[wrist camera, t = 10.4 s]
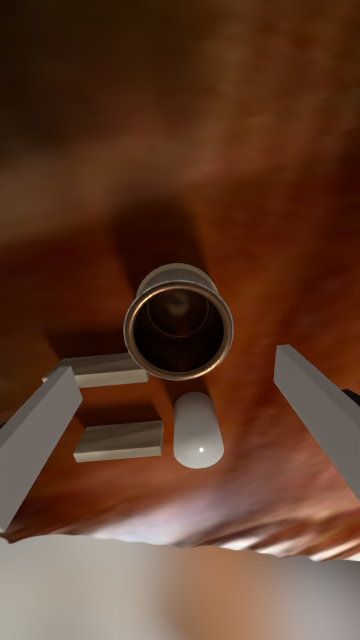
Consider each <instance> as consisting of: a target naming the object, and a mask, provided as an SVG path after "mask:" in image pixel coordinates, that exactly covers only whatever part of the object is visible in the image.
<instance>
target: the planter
mask: <svg viewBox="0 0 360 640" xmlns="http://www.w3.org/2000/svg"><path fill="white" fill-rule="evenodd" d="M123 333H124V340H125V344H126V347H127V349H128V351H129V353H130V355H131V356H132V358H133V359H134V361H135V362H136V363H137V364H138V365H139V366H140V367H142V368H143V369H144V370H146V371H147V372H149V373H151V374H152V375H155V376H157V377H160V378H163V379H168V380H188V379H193V378H196V377H199V376H202V375H204V374H206V373H208V372H209V371H211V370H212V369H214V368H215V367H216V366H217V365H218V364H219V363H220V362H221V361H222V360H223V359H224V358H225V356H226V355H227V353H228V351H229V349H230V347H231V344H232V340H233V334H234V325H233V319H232V316H231V313H230V310H229V308H228V306H227V305H226V303H225V302H224V300H223V299H222V298H221V297H220V296H219V294H218V293H217V292H216V291H215V289H214V288H213V287H212V286H211V284H210V283H209V282H208V281H207V280H206V279H205V278H204V277H203V276H201V275H200V274H198V273H196V272H194V271H191V270H188V269H183V268H173V269H168V270H164V271H162V272H160V273H158V274H156V275H155V276H153V277H152V278H151V279H150V280H149V281H148V282H147V283H146V284H145V286H144V287H143V288H142V290H141V291H140V293H139V294H138V296H137V297H136V298H135V300H134V301H133V302H132V304H131V306H130V307H129V309H128V311H127V314H126V317H125V320H124V328H123Z"/></svg>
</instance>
